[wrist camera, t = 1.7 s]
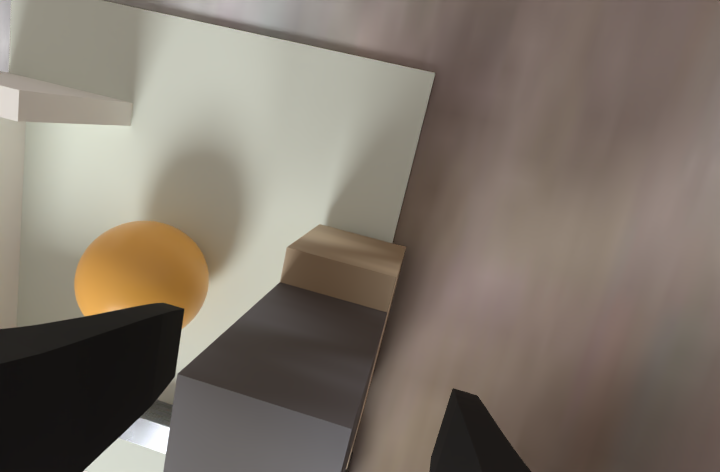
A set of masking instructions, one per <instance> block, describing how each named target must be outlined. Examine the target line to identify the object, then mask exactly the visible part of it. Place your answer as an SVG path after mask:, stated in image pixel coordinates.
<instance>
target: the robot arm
mask: <svg viewBox="0 0 720 472" xmlns="http://www.w3.org/2000/svg"><path fill="white" fill-rule="evenodd" d="M183 316H184V308H180V307H177V306H174V305H170V304H167V303H153V304H146V305H141V306H135V307H130V308H125V309H120V310H115V311H110V312H105V313H100V314H95V315H90V316H85V317H79V318H73V319H68V320H62V321H56V322H50V323H44V324H38V325H31V326H23V327H15V328H5V329H0V472H83V471H84V470H85V469H86V468H87V467H88V466H89V465H90V464H91V463H92V462H93V461H94V460H95V459H97V458H98V457H99V456H100V455H101V454H102V453H103V452H104V451H105V450H106V449H107V448H108V447H109V446H110V445H111V444H112V443H114V442H115V441H116V440H117V439H118V438H119V437H120V436H121V435H122V434H123V433H124V432H125V431H126V430H127V429H128V428H129V427H130V426H132V425H133V424H134V423H135V422H136V421H137V420H138V419H139V418H140V417H141V416H142V415H143V414H144V413H145V412H146V411H147V410H148V409H149V408H150V407H151V406H152V405H153V404H154V402H155V401H156V400H157V399H158V398H159V396H160V395H161V394H162V393H163V391H164V390H165V389H166V388H167V386H168V385H169V384H170V382H171V381H172V380H173V378H174V377H175V373H176V366H177V359H178V352H179V345H180V338H181V331H182V324H183ZM430 472H531V471H530V470H529V468H528V467H527V466H526V465H525V463H524V462H523V461H522V459H521V458H520V457H519V455H518V454H517V453H516V451H515V450H514V449H513V447H512V446H511V444H510V443H509V442H508V440H507V439H506V437H505V436H504V434H503V433H502V431H501V430H500V428H499V427H498V425H497V424H496V422H495V421H494V419H493V418H492V416H491V415H490V413H489V412H488V410H487V409H486V407H485V406H484V404H483V403H482V401H481V400H480V399H479V397H478V396H477V395H473V394H470V393H467V392H463V391H460V390H457V389H452V392H451V396H450V399H449V402H448V405H447V408H446V412H445V415H444V418H443V421H442V424H441V428H440V431H439V434H438V437H437V440H436V444H435V447H434V450H433V453H432V456H431V463H430Z"/></svg>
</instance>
